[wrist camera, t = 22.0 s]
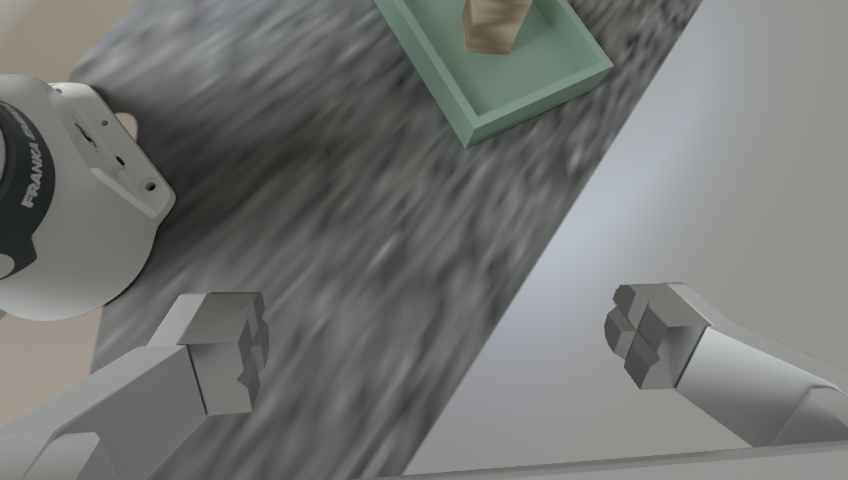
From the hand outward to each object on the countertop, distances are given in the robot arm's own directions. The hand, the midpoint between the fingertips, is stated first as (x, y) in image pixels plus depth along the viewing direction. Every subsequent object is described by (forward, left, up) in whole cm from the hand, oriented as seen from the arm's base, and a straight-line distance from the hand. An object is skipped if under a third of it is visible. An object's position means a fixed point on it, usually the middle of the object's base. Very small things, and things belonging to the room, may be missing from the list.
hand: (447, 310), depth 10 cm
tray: (-25, +26, -30) cm, 46 cm away
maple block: (-25, +26, -29) cm, 46 cm away
